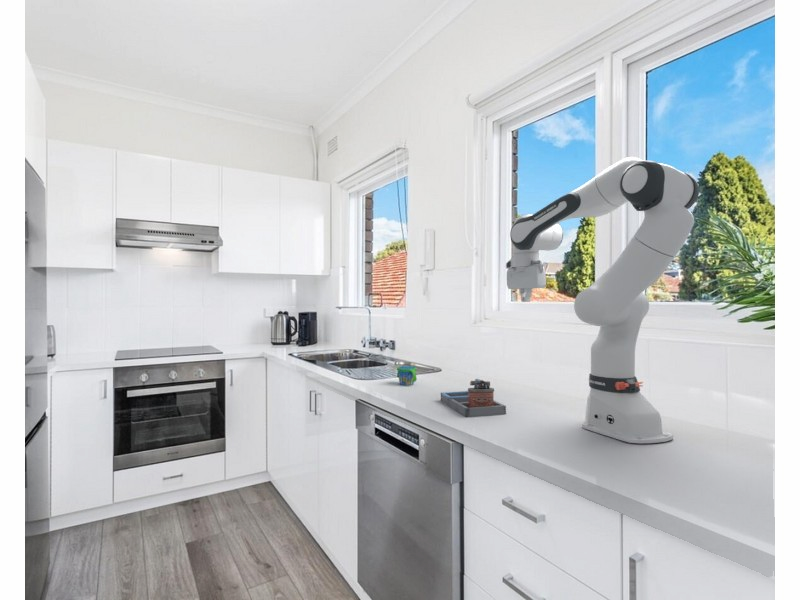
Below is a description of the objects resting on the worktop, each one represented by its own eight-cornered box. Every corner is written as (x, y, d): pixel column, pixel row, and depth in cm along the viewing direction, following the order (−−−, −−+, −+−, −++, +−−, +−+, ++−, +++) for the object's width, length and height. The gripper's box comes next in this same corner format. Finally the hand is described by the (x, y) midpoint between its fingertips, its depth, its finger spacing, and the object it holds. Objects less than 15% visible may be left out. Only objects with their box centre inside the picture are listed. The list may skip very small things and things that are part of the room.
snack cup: (422, 387, 180) (421, 368, 180) (405, 389, 177) (405, 370, 177) (408, 382, 190) (408, 365, 190) (391, 384, 187) (391, 366, 187)
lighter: (492, 411, 141) (492, 379, 141) (495, 413, 138) (495, 381, 138) (467, 411, 141) (467, 379, 141) (469, 414, 138) (468, 381, 138)
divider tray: (508, 413, 138) (508, 390, 138) (466, 417, 134) (466, 393, 134) (477, 398, 159) (477, 378, 159) (440, 401, 156) (440, 380, 156)
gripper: (550, 259, 148) (551, 301, 148) (518, 264, 168) (518, 301, 168) (533, 259, 147) (534, 302, 147) (503, 264, 166) (503, 301, 166)
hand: (525, 301), depth 157 cm, fingers closed
